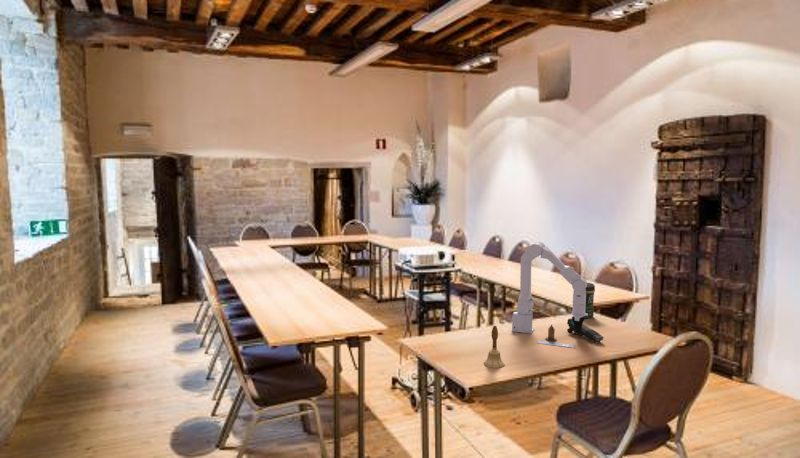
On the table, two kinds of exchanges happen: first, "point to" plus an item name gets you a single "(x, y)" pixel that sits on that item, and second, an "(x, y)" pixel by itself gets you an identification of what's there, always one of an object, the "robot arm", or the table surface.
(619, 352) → the table surface
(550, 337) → the awl
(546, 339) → the coaster
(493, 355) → the hand bell
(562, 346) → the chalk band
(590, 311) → the coffee jar
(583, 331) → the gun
